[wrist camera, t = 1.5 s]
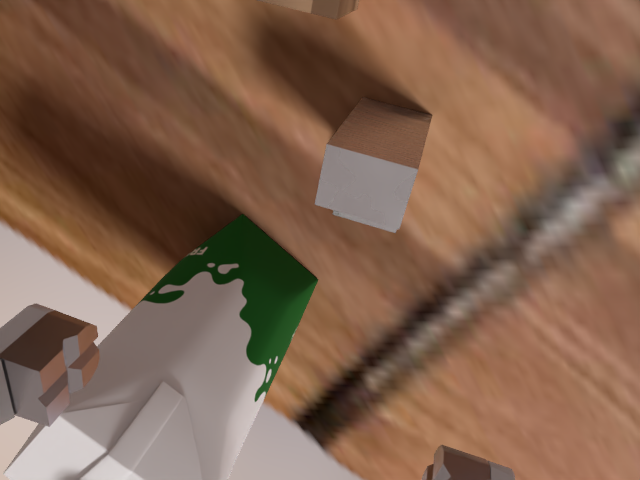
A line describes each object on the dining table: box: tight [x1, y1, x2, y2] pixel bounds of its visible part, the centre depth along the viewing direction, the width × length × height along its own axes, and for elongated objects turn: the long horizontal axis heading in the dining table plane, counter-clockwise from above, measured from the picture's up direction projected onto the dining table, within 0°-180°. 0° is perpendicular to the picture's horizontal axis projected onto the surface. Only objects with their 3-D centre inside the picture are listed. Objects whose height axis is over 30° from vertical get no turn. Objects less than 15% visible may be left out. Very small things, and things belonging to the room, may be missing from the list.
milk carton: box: [3, 214, 318, 480], centre depth 28 cm, size 9×9×20 cm
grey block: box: [315, 97, 432, 233], centre depth 26 cm, size 4×7×8 cm, turn 169°
